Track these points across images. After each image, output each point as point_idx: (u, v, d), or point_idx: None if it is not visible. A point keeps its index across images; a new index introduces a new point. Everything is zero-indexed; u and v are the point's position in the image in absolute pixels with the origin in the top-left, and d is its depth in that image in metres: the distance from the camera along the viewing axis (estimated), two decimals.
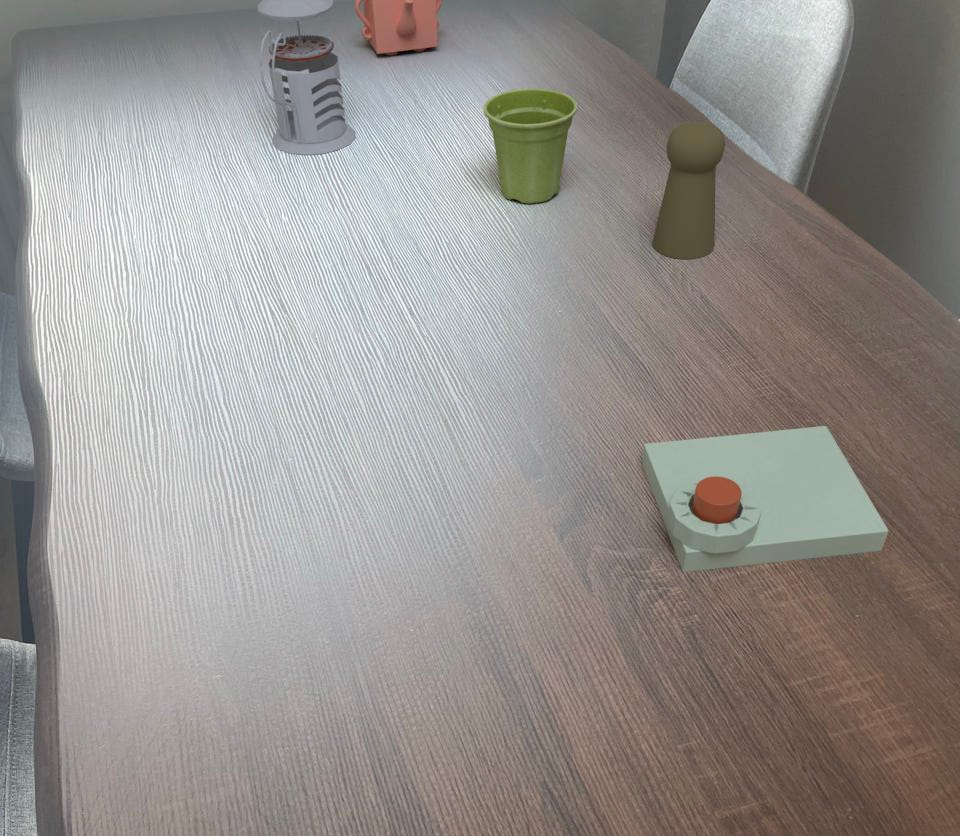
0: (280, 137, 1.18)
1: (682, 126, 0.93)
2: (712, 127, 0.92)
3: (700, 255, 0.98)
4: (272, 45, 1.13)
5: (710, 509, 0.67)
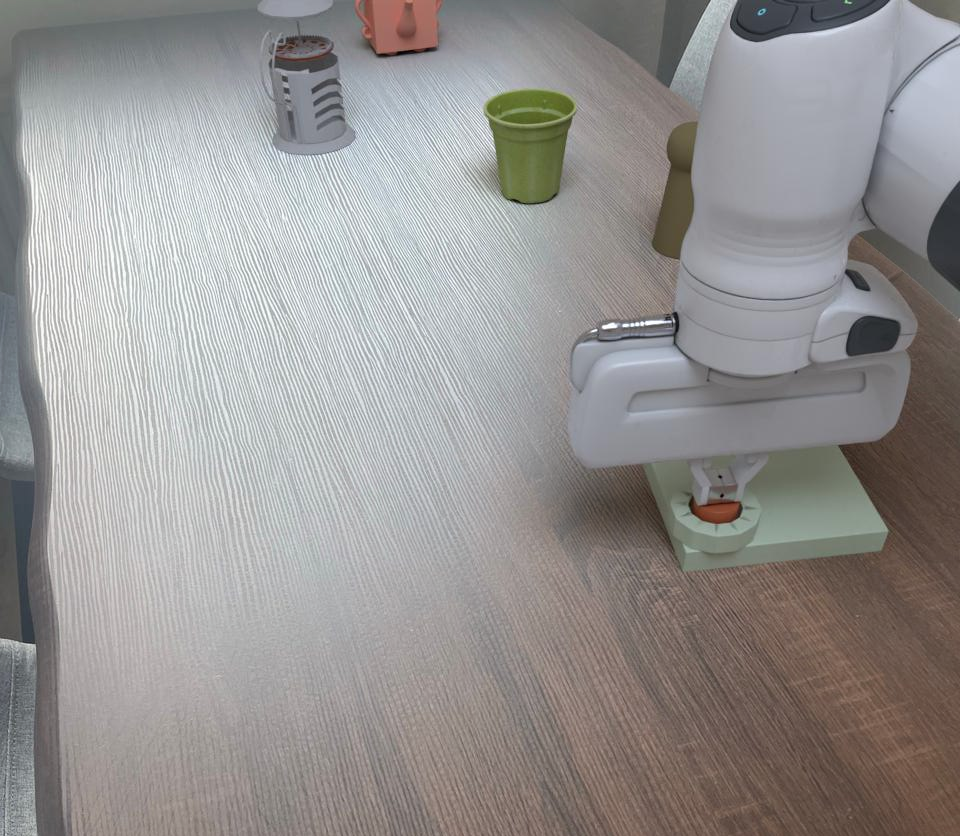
0: (280, 137, 1.18)
1: (682, 126, 0.93)
2: None
3: None
4: (272, 45, 1.13)
5: (709, 517, 0.68)
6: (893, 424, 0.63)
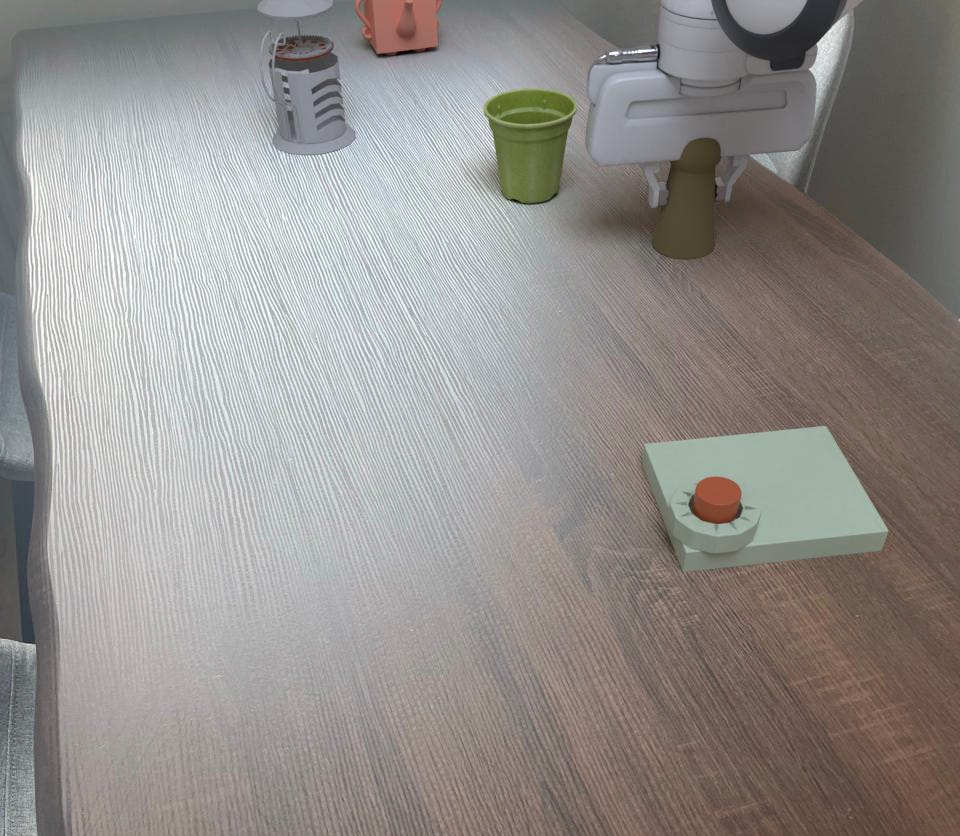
0: (280, 137, 1.18)
1: None
2: None
3: (700, 255, 0.98)
4: (272, 45, 1.13)
5: (710, 509, 0.67)
6: (808, 135, 0.92)
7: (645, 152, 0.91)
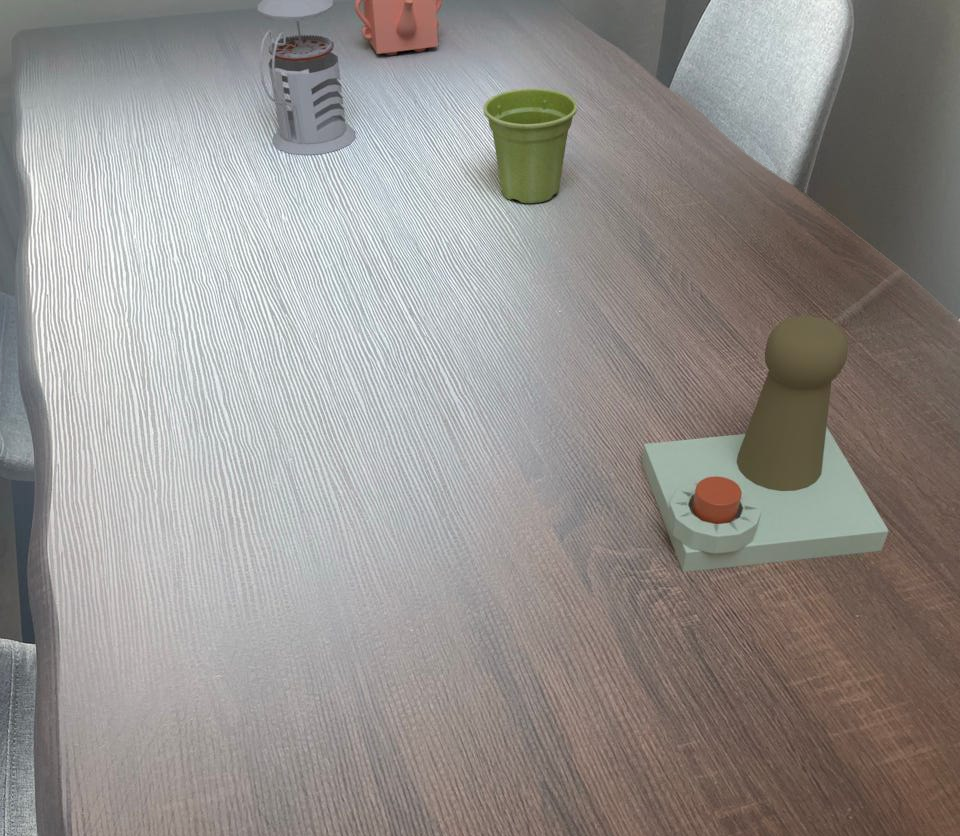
0: (280, 137, 1.18)
1: (788, 325, 0.66)
2: (831, 327, 0.66)
3: (805, 486, 0.72)
4: (272, 45, 1.13)
5: (710, 509, 0.67)
6: None
7: None
